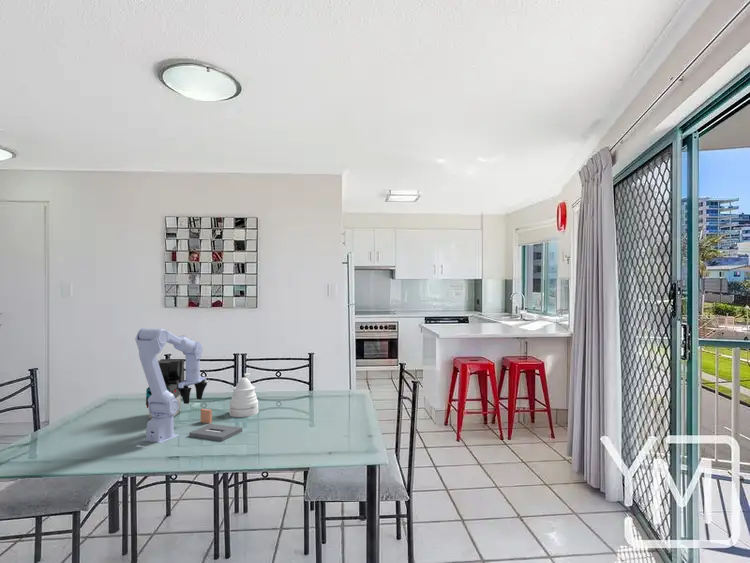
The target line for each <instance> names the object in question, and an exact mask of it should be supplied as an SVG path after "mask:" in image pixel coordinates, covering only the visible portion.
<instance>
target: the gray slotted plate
mask: <svg viewBox="0 0 750 563" xmlns="http://www.w3.org/2000/svg"><path fill="white" fill-rule="evenodd" d="M242 432H243V427H239V426H238V427H237V426H231V425H223V424H215V423H208V424H206V425H204V426H202V427H198V428H197V429H195V430H192V431H189V433H188V434H189V437H191V438H197V439H199V438H200V439H205V440H212V441H218V442H219V441H220V442H224V441H226V440H228V439H230V438H232V437H234V436H237V435H238V434H240V433H242Z"/></svg>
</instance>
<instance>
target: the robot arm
mask: <svg viewBox="0 0 750 563" xmlns="http://www.w3.org/2000/svg"><path fill="white" fill-rule="evenodd" d="M135 342H136V346H137V349H138V357H139V361H140V364H141V367H142V370H143V373H144V375H145V379H146V382H147V384H148V385H147V386H148V387H149V388H150V391H151V393H152V395H151V396H150V397H149V399H148V404H149V406H148V408H147V409H148V413H149V412H150V413H151V414H152V416H153V418H152V419H151V420H149V419H148V421H147V424H146V439H145V440H144V442H153V443H159V444H161V443H163V442H166V441H168V440H171V439H174V438H175V437H178V436H179V434H177V433H174V432H175V431H174V430H175V429H174V428H175V427H174V426H175V423H174V422H175V421H174V420H175V419H174V418H175V416H174V415H175V413H176V412H177V410H178V407H179V404H178V401H177V400H176V399H175V397H174V395H173V394H172V393H170V392H169V391H168V390H167V388H166V385H165V382H164V379H163V376H162V372H161V369H160V366H159V363H158V361H159V360H158V358H157V355H158V354H160V353H161V352H162V349H163V348H165V345H166V344H167V343H168V344H170V345H173V348H174V349H175V350H178V351H180V352H182V355H184V356H185V379H184V381H183V382H181V383H178V390H179V392H180V393H181V395H182V397H181V399H182V401H183V404H184V405H185V404H186V405H188V404H190V396H191V391H192V387H189V386H192V385H194V388H195V397H196V400H202V399H203V395H204V392H205V389H206V386H207V385H208V382H207V376H201V358H202V353H203V350H204V347H203V345H202V343H201V342H199V341H194V340H193V339H192V338H187V335H180V336H177V335H175V334H174V333H171V332H170V331H169V330H168V329H165V328H146V327H143V328H140V329H139V330H138V332H137V333H136V336H135Z"/></svg>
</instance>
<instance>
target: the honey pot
mask: <svg viewBox="0 0 750 563" xmlns="http://www.w3.org/2000/svg"><path fill="white" fill-rule="evenodd" d="M243 374H244V377H241V378H240V379H239V380H238V382H237V383H236V386H234V387H233V388H232V391H233V393H232V395H231V400H230V401H229V416H231V417H235V418H246V417H252V416H253V417H254V416H256V415H257V414H258V413H259V400H258V397H257V394H256V391H255V389H256V386H254V385H252V383H251V381H250V380H249V379H248V378H250V376H251V373H250V372H249V373H243Z"/></svg>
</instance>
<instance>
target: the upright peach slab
mask: <svg viewBox="0 0 750 563" xmlns="http://www.w3.org/2000/svg"><path fill="white" fill-rule="evenodd" d="M212 412H213V410H212V409H208V408H207V409H206V408H200V423H204V424H213V423H212V422H213V420H212V419H213V413H212Z"/></svg>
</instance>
